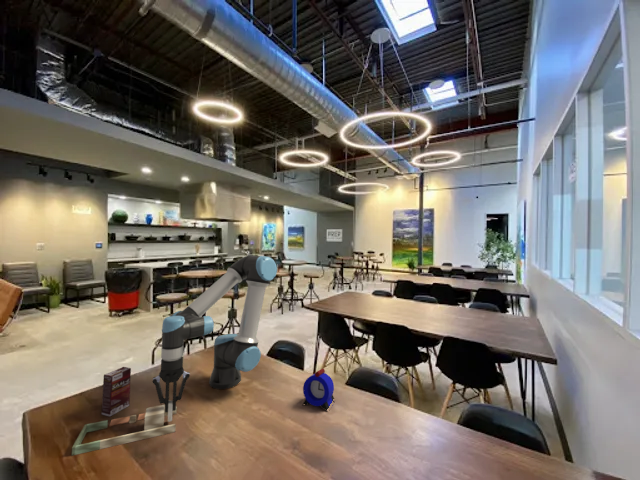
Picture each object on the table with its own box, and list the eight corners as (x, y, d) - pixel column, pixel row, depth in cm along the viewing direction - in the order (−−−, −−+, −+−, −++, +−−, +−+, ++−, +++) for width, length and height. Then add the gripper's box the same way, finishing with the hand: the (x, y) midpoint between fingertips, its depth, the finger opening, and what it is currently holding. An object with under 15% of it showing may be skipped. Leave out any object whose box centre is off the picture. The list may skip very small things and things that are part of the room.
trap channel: (176, 407, 120) (176, 401, 120) (175, 431, 104) (175, 425, 104) (88, 425, 107) (88, 418, 107) (71, 455, 92) (72, 447, 92)
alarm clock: (301, 406, 123) (302, 371, 123) (312, 392, 134) (313, 361, 135) (327, 413, 118) (328, 377, 119) (337, 398, 130) (337, 365, 130)
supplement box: (110, 417, 112) (111, 376, 112) (101, 414, 113) (102, 374, 114) (130, 405, 120) (131, 367, 121) (121, 403, 122) (123, 366, 122)
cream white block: (164, 420, 111) (164, 404, 111) (163, 429, 106) (163, 412, 106) (146, 423, 108) (146, 408, 109) (144, 433, 103) (144, 416, 103)
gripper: (190, 351, 116) (188, 410, 115) (153, 356, 110) (151, 417, 110) (190, 358, 109) (188, 420, 109) (151, 363, 104) (149, 429, 103)
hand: (170, 419), depth 109 cm, fingers closed
